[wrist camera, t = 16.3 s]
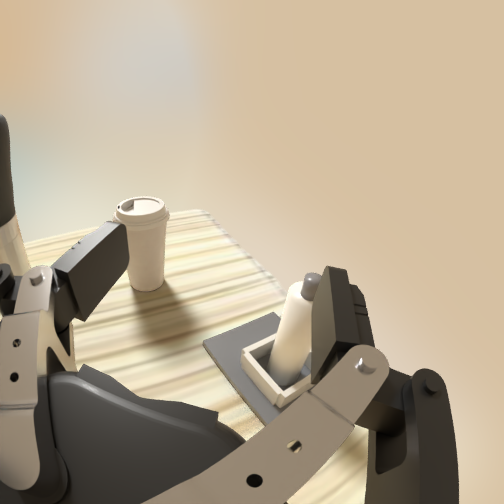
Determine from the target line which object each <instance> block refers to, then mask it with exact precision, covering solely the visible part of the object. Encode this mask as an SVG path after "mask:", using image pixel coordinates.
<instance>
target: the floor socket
mask: <svg viewBox="0 0 504 504" xmlns="http://www.w3.org/2000/svg"><path fill="white" fill-rule="evenodd" d="M280 320H281V319H280V318H279V317H278V316H277V315H276V314H275V313H274V312H272V313H270V314H267V315H265V316H263V317H260V318H258V319H256V320H253V321H251V322H249V323H246V324H244V325H241V326H239V327H237V328H234V329H232V330H229V331H227V332H224V333H222V334H219V335H217V336H214V337H212V338H209V339H206V340H204V341H203V346H204V347H205V349H206V350H207V352H208V353H209V355H210V356H211V357H212V359H213V360H214V362H215V363H216V364H217V366H218V367H219V368H220V370H221V371H222V372H223V374H224V375H225V376H226V378H227V379H228V380H229V382H230V383H231V384H232V386H233V387H234V388H235V389H236V391H237V392H238V393H239V395H240V396H241V397H242V398H243V400H244V401H245V402H246V403H247V405H248V406H249V407H250V408H251V410H252V411H253V412H254V413H255V414H256V416H257V417H258V418H259V419H260V420H261V422H262V423H263V424H264V425H265V426H267V425H268V424H269V423H270V422H271V421H273V420H274V419H275V418H276V417H277V416H279V415H280V414H281V413H282V412H283V411H284V410H285V409H287V408H288V407H289V406H290V405H291V404H292V403H293V402H294V401H296V400H297V399H298V398H299V397H300V396H301V395H302V394H303V393H305V392H306V391H308V390H309V391H310V390H312V389H313V388H314V387H315V386H316V385H314V384H311V350H310V352H309V354H308V356H307V359H306V361H305V363H304V365H303V367H302V369H301V372H300V374H299V376H298V378H297V380H296V381H295V382H294V383H293V384H291V385H287V386H280V385H277V384H276V383H275V382H274V380H273V379H272V378H271V377H270V376H269V375H268V374H267V373H266V368H267V365H268V362H269V358H270V355H271V352H272V348H273V345H274V341H275V338H276V334H277V331H278V327H279V324H280Z"/></svg>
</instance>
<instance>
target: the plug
mask: <svg viewBox="0 0 504 504" xmlns="http://www.w3.org/2000/svg"><path fill="white" fill-rule="evenodd" d="M321 278H322V276H321V275H319V274H316V273H308V274H306V275H305V279H304V281H302V282H296V283H294V284H292V285H291V286H290V288H289V291H288V295H287V298H286V302H285V306H284V309H283V313H282V317H281V320H280V324H279V327H278V331H277V334H276V338H275V341H274V345H273V348H272V352H271V355H270V358H269V362H268V365H267V368H266V373H267V374H268V375H269V376H270V377H271V378H272V379H273V380H274V382H275V383H276V384H277V385H280V386H287V385H291V384H293V383H294V382H295V381H296V380H297V378H298V376H299V374H300V372H301V369H302V367H303V365H304V363H305V361H306V359H307V356H308V354H309V352H310V350H311V311H312V304H313V300H314V297H315V294H316V291H317V289H318V286H319V283H320V280H321Z"/></svg>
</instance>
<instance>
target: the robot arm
mask: <svg viewBox="0 0 504 504" xmlns="http://www.w3.org/2000/svg"><path fill="white" fill-rule="evenodd" d="M129 259H130V256H129V247H128V239H127V229H126V226H125V225H124V224H122V223H117V222H112V221H107V222H106V223H104V224H103V225H102V226H100V227H99V228H98V229H97V230H96V231H94V232H92V233H89V234H87V235H85V236H84V237H83V238H82V239H81V240H80V241H78V243H76V244H75V245H74V246H73V247H72V249H69V250H68V251H67V252H66V253H65V254H64V255H62V256H61V257H60V258H59V259H58V260H57V261H56V262H55V263H54V264H53V265H52V266H51V267H48V266H44V265H41V266H36V267H34V268H32V269H31V267H30V264H29V260H28V257H27V254H26V251H25V247H24V244H23V240H22V237H21V233H20V229H19V225H18V221H17V216H16V212H15V207H14V197H13V184H12V176H11V162H10V137H9V129H8V124H7V121H6V119H5V117H4V116H3V115H1V114H0V313H1V314H2V316H3V319H2V320H1V322H0V504H288V503H287V502H286V501H287V500H288V499H289V498H290V497H291V496H293V495H294V494H295V493H296V492H297V491H298V490H299V489H300V488H301V487H302V486H303V485H304V484H305V483H306V482H307V481H308V480H309V479H310V478H311V477H312V476H313V475H314V474H315V473H316V472H317V471H318V470H319V469H320V468H321V467H322V466H323V465H324V464H325V463H326V461H327V460H328V459H329V458H330V457H331V456H332V455H333V454H334V453H335V451H336V450H337V449H338V448H339V447H340V446H341V444H342V443H343V442H344V441H345V440H346V438H347V437H348V436H349V435H350V433H351V432H352V430H353V429H354V427H355V426H354V424H356V425H358V426H361V427H364V428H367V429H369V439H368V467H367V482H366V494H365V503H364V504H459V478H458V461H457V450H456V441H455V433H454V426H453V420H452V414H451V409H450V403H449V398H448V393H447V389H446V385H445V383H444V381H443V379H442V378H441V376H439V374H438V373H436V372H435V371H433V370H430V369H420V370H418V371H416V372H415V374H414V375H413V376H409V375H406V374H404V373H401V372H398V371H396V370H393V369H391V368H390V367H389V363H388V361H387V359H386V357H385V356H384V354H383V353H382V352H380V351H379V350H378V349H376V348H375V345H374V340H373V335H372V330H371V325H370V321H369V317H368V311H367V308H366V303H365V299H364V295H363V294H362V293H361V291H360V290H359V289H358V287H357V286H356V285H351V284H349V280H348V275H347V271H346V270H345V269H340V268H335V267H330V266H326V268H325V269H324V272H323V275H322V278H321V280H320V283H319V286H318V289H317V291H316V294H315V297H314V300H313V304H312V311H311V384H314V385H316V386H315V387H314V388H313V389H312V390H310V391H309V390H308V391H306V392H305V393H303V394H302V395H301V396H300V397H299V398H298V399H297V400H296V401H294V402H293V403H292V404H291V405H290V406H289V407H288V408H287V409H285V410H284V411H283V412H282V413H281V414H280V415H279V416H277V417H276V418H275V419H274V420H273V421H271V422H270V423H269V424H268V425H267V426H265V427H264V428H263V429H262V430H260V431H259V432H258V433H257V434H255V435H254V436H253V437H252V438H250V439H249V440H248V441H246V440H245V439H244V438H243V437H242V436H240V435H239V434H238V433H237V432H235V431H234V430H233V429H231V428H230V427H228V426H226V425H225V424H223V423H221V422H219V421H218V412H216V411H212V410H208V409H204V408H200V407H197V406H193V405H190V404H186V403H183V402H176V401H164V400H154V399H146V398H141V397H139V396H137V395H135V394H134V393H133V392H131V391H130V390H128V389H127V388H126V387H124V386H123V385H122V384H120V383H119V382H118V381H116V380H115V379H114V378H112V377H111V376H109V375H107V374H104V373H102V372H100V371H98V370H96V369H93V368H91V367H89V366H87V365H85V364H83V365H82V367H81V369H80V370H79V372H78V371H77V368H76V363H75V353H74V336H73V324H72V322H71V321H72V319H73V318H74V317H75V318H77V319H79V320H81V321H84V322H85V321H86V319H87V318H88V317H89V315H90V314H91V313H92V312H93V310H94V309H95V308H96V306H97V305H98V304H99V303H100V301H101V300H102V299H103V297H104V296H105V295H106V294H107V292H108V291H109V290H110V289H111V287H112V286H113V285H114V284H115V283H116V281H117V280H118V279H119V278H120V277H121V275H122V274H123V273H124V272H125V271H126V269H127V267H128V264H129Z"/></svg>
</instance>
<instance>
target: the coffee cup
mask: <svg viewBox="0 0 504 504" xmlns="http://www.w3.org/2000/svg"><path fill="white" fill-rule="evenodd" d="M169 217H170V215H169V212H168V210H167V207H166V206H165V204H164V202H163V201H162V200H161V199H158V198H155V197H148V196H144V197H143V196H142V197H134V198H130V199H127V200H124V201H122V202H121V203H119V204H118V206H117V209H116V211H115V213H114V217H113V222H117V223H122V224H124V225H125V226H126V229H127V239H128V247H129V256H130V259H129V264H128V267H127V272H128V276H129V280H130V284H131V286H132V287H133V288H134V289H136V290H138V291H143V292H147V291H153V290H155V289H157V288H159V287H160V286H161V285H162V284H163V281H164V255H165V235H166V222H167V221H168V219H169Z"/></svg>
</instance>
